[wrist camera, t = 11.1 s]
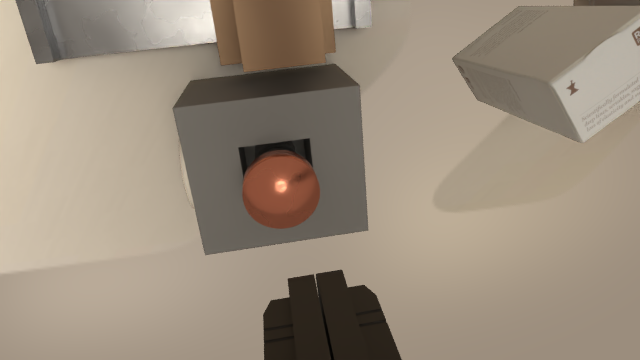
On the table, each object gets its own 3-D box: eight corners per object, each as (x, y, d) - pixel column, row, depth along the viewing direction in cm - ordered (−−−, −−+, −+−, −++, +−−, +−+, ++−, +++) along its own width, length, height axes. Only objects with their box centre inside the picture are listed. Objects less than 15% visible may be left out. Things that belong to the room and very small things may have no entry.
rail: (357, -42, 30) (368, -45, 27) (360, 23, 32) (372, 26, 29) (36, -11, 28) (12, -11, 26) (57, 56, 30) (36, 64, 27)
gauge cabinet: (334, 63, 33) (359, 85, 25) (344, 181, 36) (368, 230, 29) (184, 81, 32) (164, 109, 24) (209, 200, 35) (198, 256, 28)
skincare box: (477, 102, 35) (582, 154, 24) (447, 54, 34) (545, 87, 22) (546, 49, 34) (687, 78, 23) (519, -2, 33) (657, 2, 22)
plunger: (301, 116, 30) (316, 152, 23) (308, 174, 32) (323, 222, 25) (239, 124, 30) (236, 163, 23) (249, 182, 31) (248, 234, 25)
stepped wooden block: (318, -59, 29) (347, -79, 21) (327, 46, 32) (356, 67, 23) (205, -49, 29) (186, -65, 20) (223, 57, 31) (213, 84, 22)
